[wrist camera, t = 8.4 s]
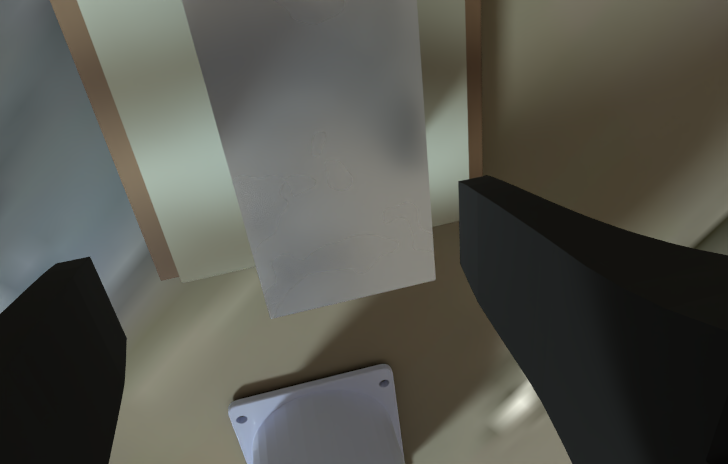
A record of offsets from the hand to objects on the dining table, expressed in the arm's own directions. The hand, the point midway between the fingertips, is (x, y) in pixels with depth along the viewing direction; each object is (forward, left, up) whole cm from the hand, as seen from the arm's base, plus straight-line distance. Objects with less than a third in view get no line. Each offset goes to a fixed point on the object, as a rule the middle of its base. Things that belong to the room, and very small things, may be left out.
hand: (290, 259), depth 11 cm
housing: (+1, -1, -8) cm, 9 cm away
